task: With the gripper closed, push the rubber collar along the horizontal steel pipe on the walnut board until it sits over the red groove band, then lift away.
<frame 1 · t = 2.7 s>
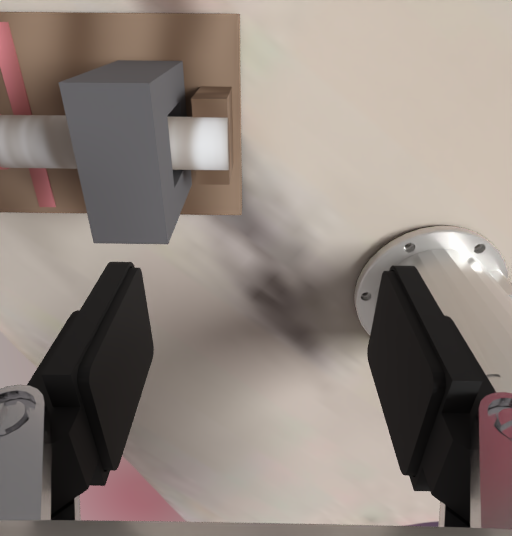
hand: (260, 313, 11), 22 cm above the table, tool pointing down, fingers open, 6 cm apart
pipe rig: (90, 120, 30), on the table
collar: (141, 145, 25), point 6 cm above the table, slide at -5.0 cm
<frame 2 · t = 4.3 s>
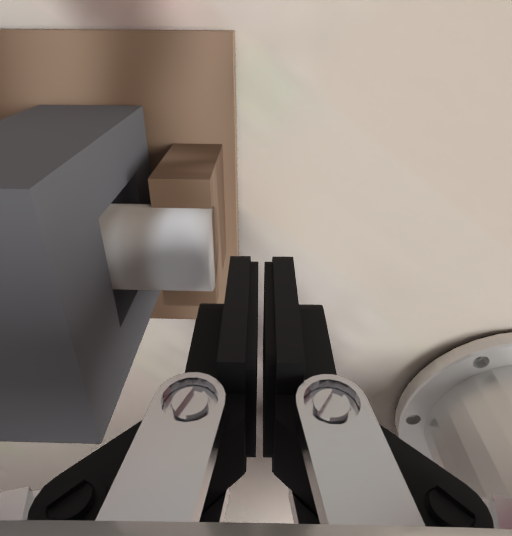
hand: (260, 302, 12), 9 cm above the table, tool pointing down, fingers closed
pipe rig: (12, 188, 20), on the table
collar: (66, 252, 15), point 6 cm above the table, slide at -5.0 cm
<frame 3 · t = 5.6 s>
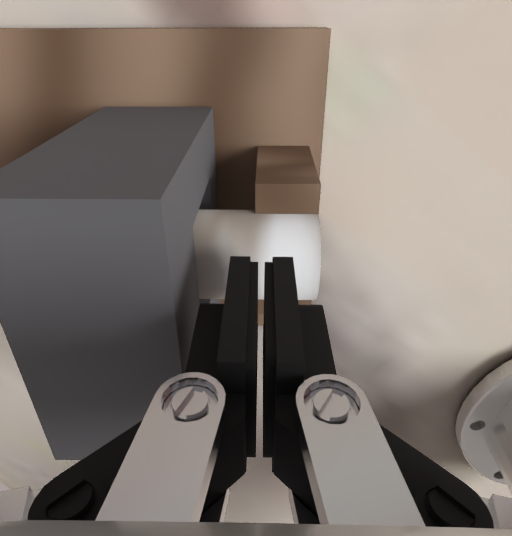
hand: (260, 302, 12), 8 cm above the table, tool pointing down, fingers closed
pipe rig: (81, 193, 19), on the table
collar: (143, 261, 14), point 6 cm above the table, slide at -4.3 cm, touching gripper
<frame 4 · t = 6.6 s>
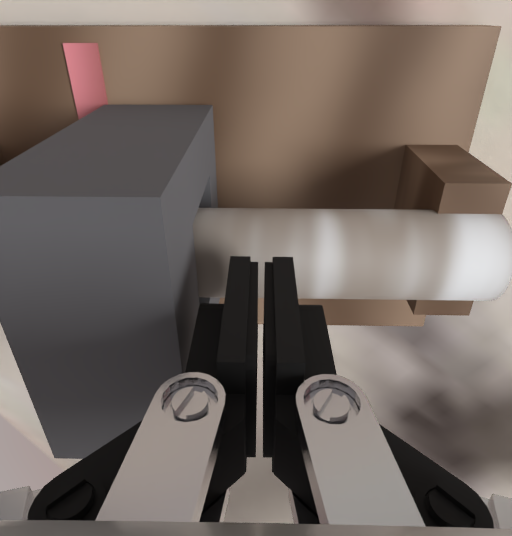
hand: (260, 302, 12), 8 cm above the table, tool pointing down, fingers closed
pipe rig: (208, 192, 19), on the table
collar: (143, 259, 14), point 6 cm above the table, slide at 1.4 cm, touching gripper
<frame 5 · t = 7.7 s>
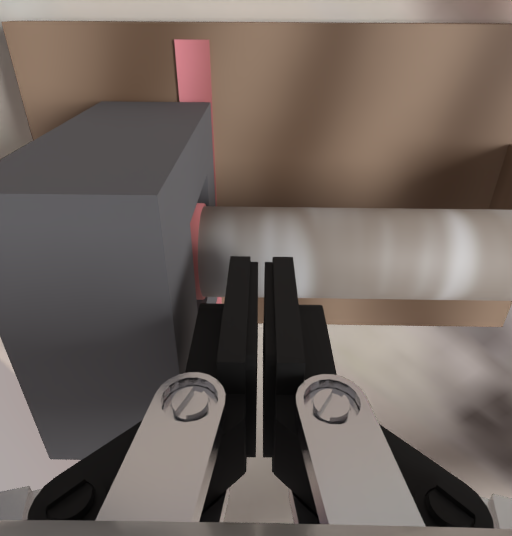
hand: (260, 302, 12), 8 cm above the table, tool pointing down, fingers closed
pipe rig: (296, 191, 19), on the table
collar: (140, 258, 14), point 6 cm above the table, slide at 5.4 cm, touching gripper
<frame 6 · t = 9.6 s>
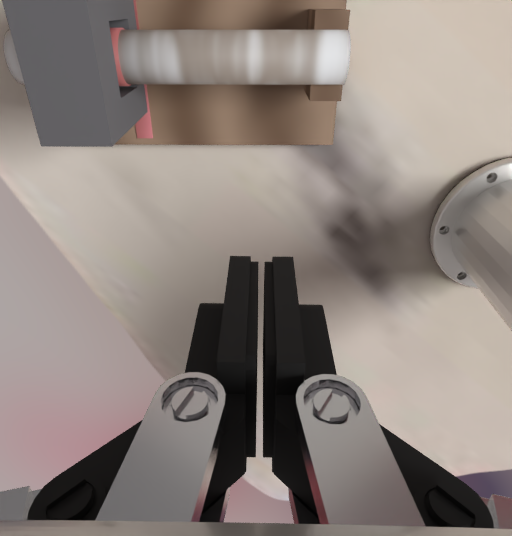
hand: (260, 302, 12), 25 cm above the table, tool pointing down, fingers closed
pipe rig: (193, 49, 31), on the table
collar: (88, 58, 26), point 6 cm above the table, slide at 5.5 cm
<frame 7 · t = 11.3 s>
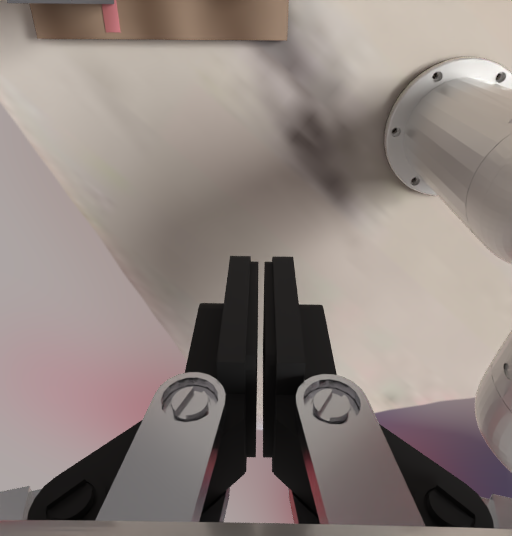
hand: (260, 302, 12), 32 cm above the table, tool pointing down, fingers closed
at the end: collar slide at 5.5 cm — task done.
